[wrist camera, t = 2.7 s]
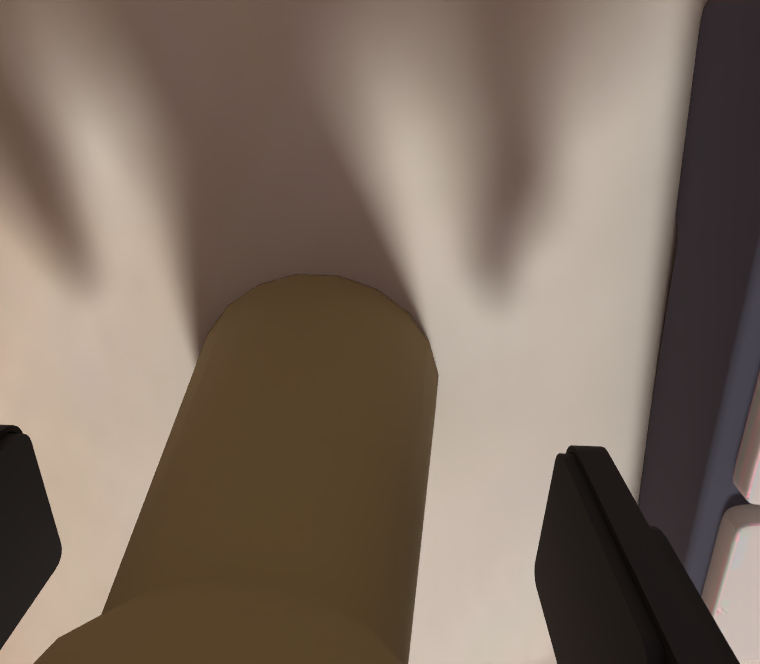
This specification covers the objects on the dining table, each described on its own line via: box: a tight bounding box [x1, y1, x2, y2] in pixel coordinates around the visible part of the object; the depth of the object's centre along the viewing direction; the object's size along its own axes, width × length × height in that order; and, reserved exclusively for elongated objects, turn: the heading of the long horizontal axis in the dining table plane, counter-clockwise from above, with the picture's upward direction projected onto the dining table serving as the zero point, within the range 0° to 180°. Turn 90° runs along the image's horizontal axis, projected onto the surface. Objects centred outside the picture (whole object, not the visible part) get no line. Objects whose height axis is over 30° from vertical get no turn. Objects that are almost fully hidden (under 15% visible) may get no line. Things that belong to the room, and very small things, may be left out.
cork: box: [34, 274, 438, 664], centre depth 9 cm, size 6×6×11 cm
